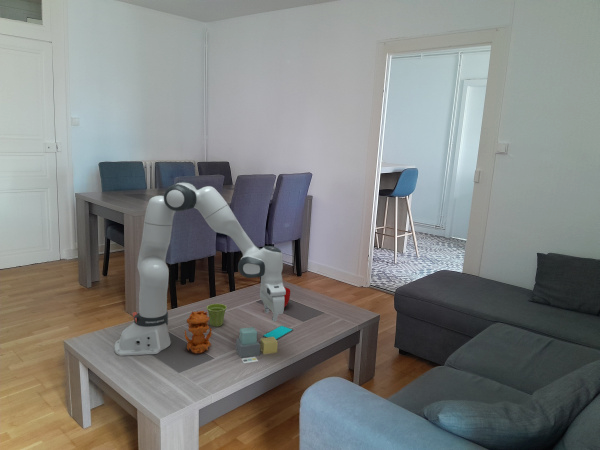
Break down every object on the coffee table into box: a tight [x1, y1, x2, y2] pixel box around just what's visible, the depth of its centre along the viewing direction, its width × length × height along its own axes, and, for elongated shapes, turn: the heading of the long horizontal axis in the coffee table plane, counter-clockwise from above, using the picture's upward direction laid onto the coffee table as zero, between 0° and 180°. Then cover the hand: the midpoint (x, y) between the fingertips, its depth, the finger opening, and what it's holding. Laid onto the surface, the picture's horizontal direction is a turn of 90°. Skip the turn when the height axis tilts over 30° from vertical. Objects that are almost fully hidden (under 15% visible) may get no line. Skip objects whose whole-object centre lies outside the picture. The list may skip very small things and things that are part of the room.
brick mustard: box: [259, 337, 278, 355], centre depth 187 cm, size 6×5×5 cm
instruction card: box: [241, 356, 259, 364], centre depth 179 cm, size 6×4×1 cm, turn 113°
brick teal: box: [239, 326, 258, 345], centre depth 184 cm, size 6×5×5 cm
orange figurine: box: [184, 310, 213, 354], centre depth 183 cm, size 11×11×18 cm
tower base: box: [235, 337, 261, 359], centre depth 185 cm, size 8×8×5 cm
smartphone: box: [262, 325, 294, 341], centre depth 205 cm, size 7×1×15 cm
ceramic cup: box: [284, 286, 291, 308], centre depth 234 cm, size 13×17×10 cm
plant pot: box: [206, 303, 228, 328], centre depth 211 cm, size 9×9×9 cm
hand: (270, 316), depth 185 cm, fingers open, 8 cm apart
